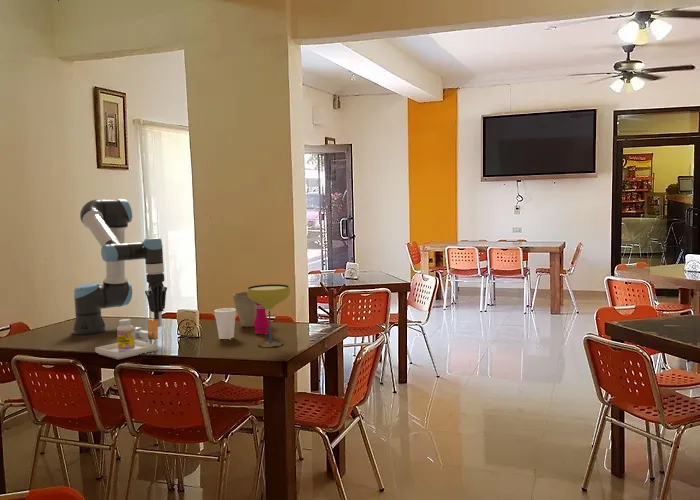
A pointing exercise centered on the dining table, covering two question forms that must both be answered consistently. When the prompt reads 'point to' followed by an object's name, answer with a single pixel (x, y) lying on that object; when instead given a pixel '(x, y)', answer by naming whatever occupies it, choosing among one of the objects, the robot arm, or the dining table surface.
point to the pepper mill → (261, 320)
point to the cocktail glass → (268, 298)
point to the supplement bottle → (125, 335)
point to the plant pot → (245, 309)
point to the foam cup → (225, 322)
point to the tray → (115, 353)
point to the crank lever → (151, 332)
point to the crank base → (140, 339)
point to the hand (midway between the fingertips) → (158, 326)
